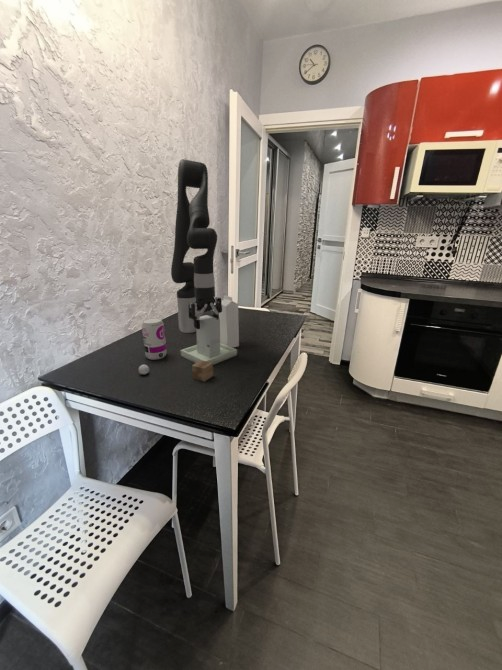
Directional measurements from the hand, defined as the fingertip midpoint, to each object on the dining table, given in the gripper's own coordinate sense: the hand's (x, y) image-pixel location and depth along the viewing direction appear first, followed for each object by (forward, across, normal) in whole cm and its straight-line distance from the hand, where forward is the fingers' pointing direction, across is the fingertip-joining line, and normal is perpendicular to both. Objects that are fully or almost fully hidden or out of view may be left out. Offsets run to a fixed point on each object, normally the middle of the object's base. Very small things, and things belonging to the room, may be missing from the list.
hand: (206, 326), depth 119 cm
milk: (+13, -13, -2) cm, 18 cm away
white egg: (+11, +26, -3) cm, 28 cm away
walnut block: (+12, +13, +14) cm, 22 cm away
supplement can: (+13, +15, -14) cm, 24 cm away
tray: (+12, 0, 0) cm, 13 cm away
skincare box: (+12, 0, 0) cm, 12 cm away
